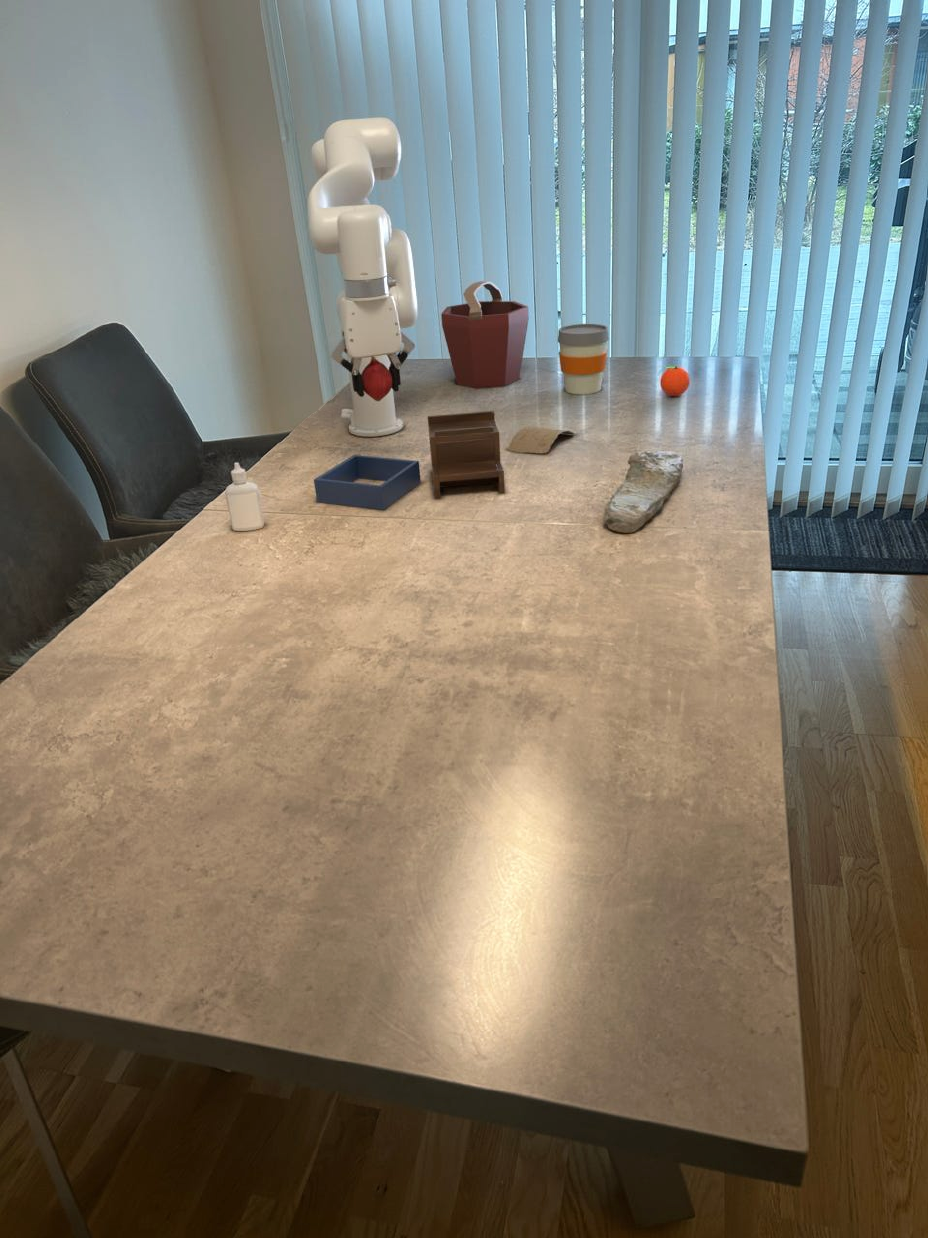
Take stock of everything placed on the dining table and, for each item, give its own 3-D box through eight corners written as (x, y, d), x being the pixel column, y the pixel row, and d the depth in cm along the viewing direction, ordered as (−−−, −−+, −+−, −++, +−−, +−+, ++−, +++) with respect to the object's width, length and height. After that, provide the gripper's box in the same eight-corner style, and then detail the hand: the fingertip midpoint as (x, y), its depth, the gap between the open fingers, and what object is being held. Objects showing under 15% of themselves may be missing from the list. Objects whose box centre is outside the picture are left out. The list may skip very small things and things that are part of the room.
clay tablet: (548, 455, 183) (547, 442, 182) (505, 449, 188) (504, 437, 186) (577, 435, 193) (577, 423, 192) (536, 430, 198) (536, 418, 197)
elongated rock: (588, 537, 149) (647, 547, 145) (589, 509, 146) (649, 518, 142) (640, 459, 175) (691, 466, 172) (642, 434, 172) (694, 440, 169)
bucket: (496, 395, 226) (491, 292, 214) (425, 387, 237) (417, 289, 225) (542, 372, 244) (540, 275, 232) (475, 366, 255) (469, 273, 243)
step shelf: (504, 493, 166) (502, 433, 160) (435, 499, 165) (430, 439, 160) (496, 466, 179) (493, 410, 173) (432, 472, 178) (427, 415, 173)
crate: (317, 502, 168) (313, 479, 165) (356, 476, 179) (354, 454, 177) (384, 510, 162) (381, 486, 160) (421, 482, 173) (419, 460, 171)
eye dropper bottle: (255, 533, 156) (242, 468, 150) (228, 530, 158) (215, 466, 152) (268, 524, 159) (257, 460, 154) (242, 521, 161) (230, 457, 156)
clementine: (650, 397, 216) (652, 367, 212) (662, 390, 221) (664, 361, 217) (682, 400, 212) (683, 370, 208) (693, 393, 217) (695, 364, 213)
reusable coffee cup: (553, 385, 231) (553, 325, 224) (601, 381, 232) (602, 321, 225) (563, 397, 220) (563, 335, 213) (613, 393, 221) (614, 331, 214)
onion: (400, 397, 164) (396, 353, 160) (384, 406, 160) (379, 361, 156) (373, 395, 167) (368, 352, 163) (356, 404, 162) (351, 359, 158)
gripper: (408, 279, 159) (416, 380, 168) (313, 291, 154) (327, 394, 163) (420, 285, 153) (428, 390, 162) (321, 297, 148) (336, 404, 157)
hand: (377, 391), depth 162 cm, fingers closed on onion, 5 cm apart
